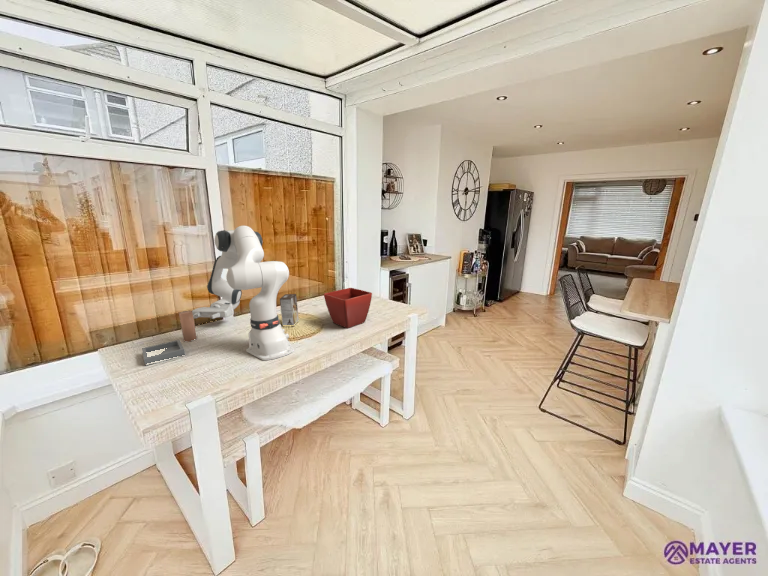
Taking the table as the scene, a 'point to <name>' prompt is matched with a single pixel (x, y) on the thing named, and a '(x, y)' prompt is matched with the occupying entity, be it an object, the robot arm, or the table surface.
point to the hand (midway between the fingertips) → (202, 317)
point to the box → (172, 351)
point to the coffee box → (289, 309)
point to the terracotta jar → (187, 325)
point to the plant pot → (348, 306)
